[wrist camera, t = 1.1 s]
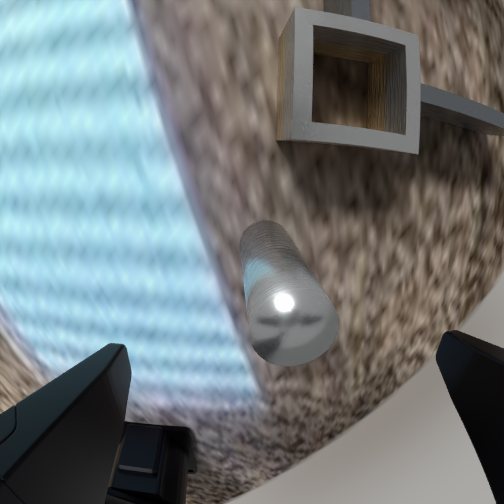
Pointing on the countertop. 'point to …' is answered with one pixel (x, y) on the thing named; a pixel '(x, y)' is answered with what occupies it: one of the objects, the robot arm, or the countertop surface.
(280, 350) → the hinge pin
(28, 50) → the countertop surface
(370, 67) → the hinge
